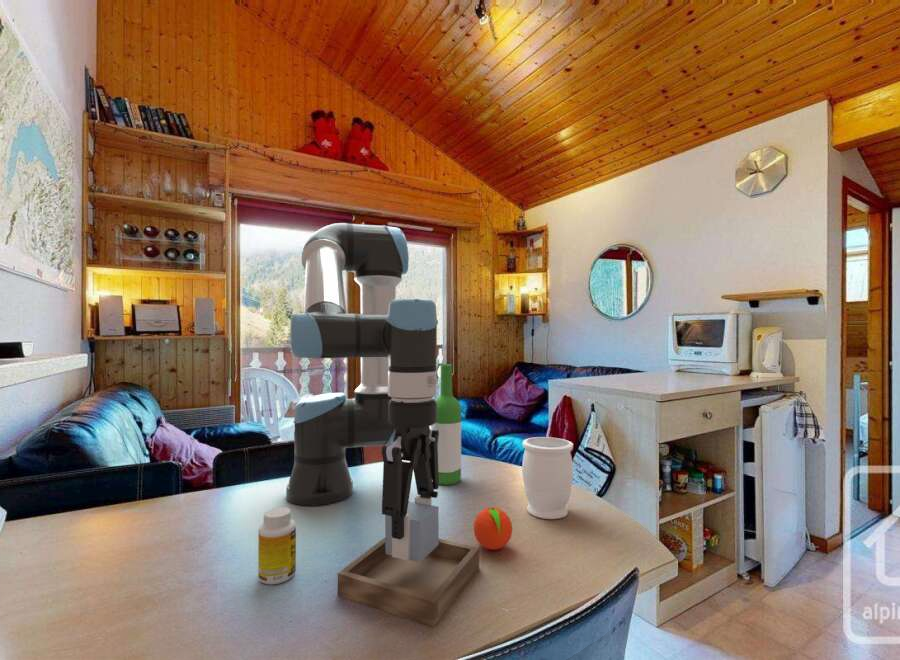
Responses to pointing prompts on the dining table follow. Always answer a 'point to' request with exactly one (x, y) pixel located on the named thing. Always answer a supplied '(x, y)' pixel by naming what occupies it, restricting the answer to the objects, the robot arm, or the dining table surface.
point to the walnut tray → (410, 580)
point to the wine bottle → (448, 430)
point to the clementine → (492, 528)
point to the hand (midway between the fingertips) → (412, 547)
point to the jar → (547, 476)
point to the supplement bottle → (277, 546)
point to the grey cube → (417, 530)
